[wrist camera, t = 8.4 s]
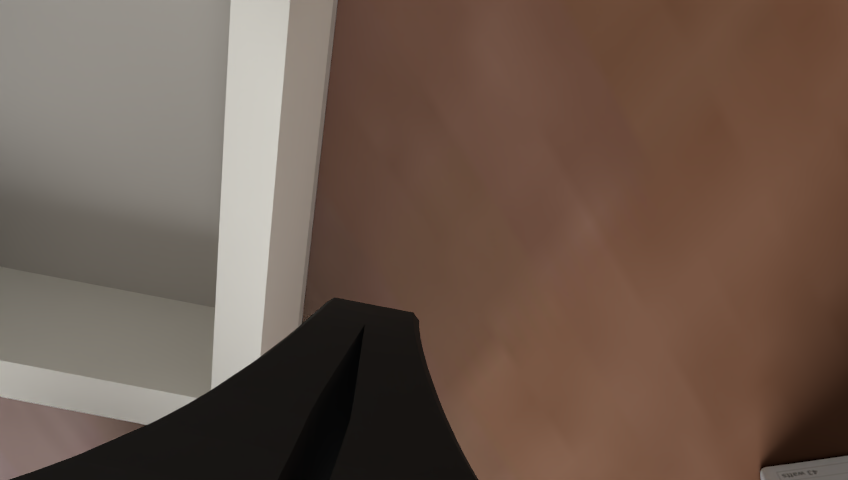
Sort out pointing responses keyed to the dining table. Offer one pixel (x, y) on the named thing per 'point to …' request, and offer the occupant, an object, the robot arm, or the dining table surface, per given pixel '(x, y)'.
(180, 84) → the white square shallow box
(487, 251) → the dining table surface
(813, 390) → the dining table surface
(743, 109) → the dining table surface
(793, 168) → the dining table surface
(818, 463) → the light bulb box
